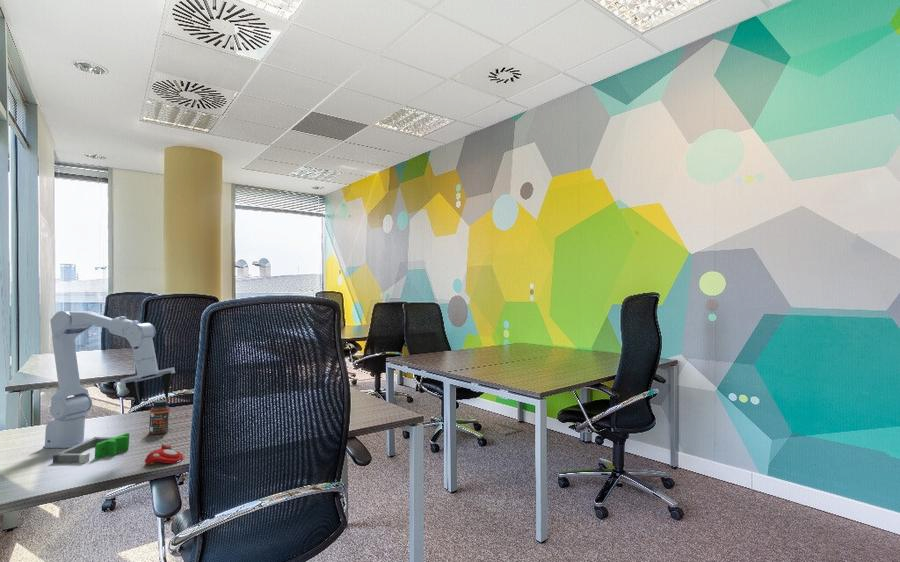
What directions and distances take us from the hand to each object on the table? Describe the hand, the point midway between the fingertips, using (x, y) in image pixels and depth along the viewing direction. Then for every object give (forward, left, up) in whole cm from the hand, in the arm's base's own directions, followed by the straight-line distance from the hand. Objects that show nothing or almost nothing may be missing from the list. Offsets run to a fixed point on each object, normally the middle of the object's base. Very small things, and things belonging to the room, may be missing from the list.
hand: (153, 401), depth 143 cm
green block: (-10, -2, -16) cm, 19 cm away
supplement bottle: (-8, +19, -16) cm, 26 cm away
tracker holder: (+9, -8, -16) cm, 20 cm away
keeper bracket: (-17, -2, -16) cm, 23 cm away
